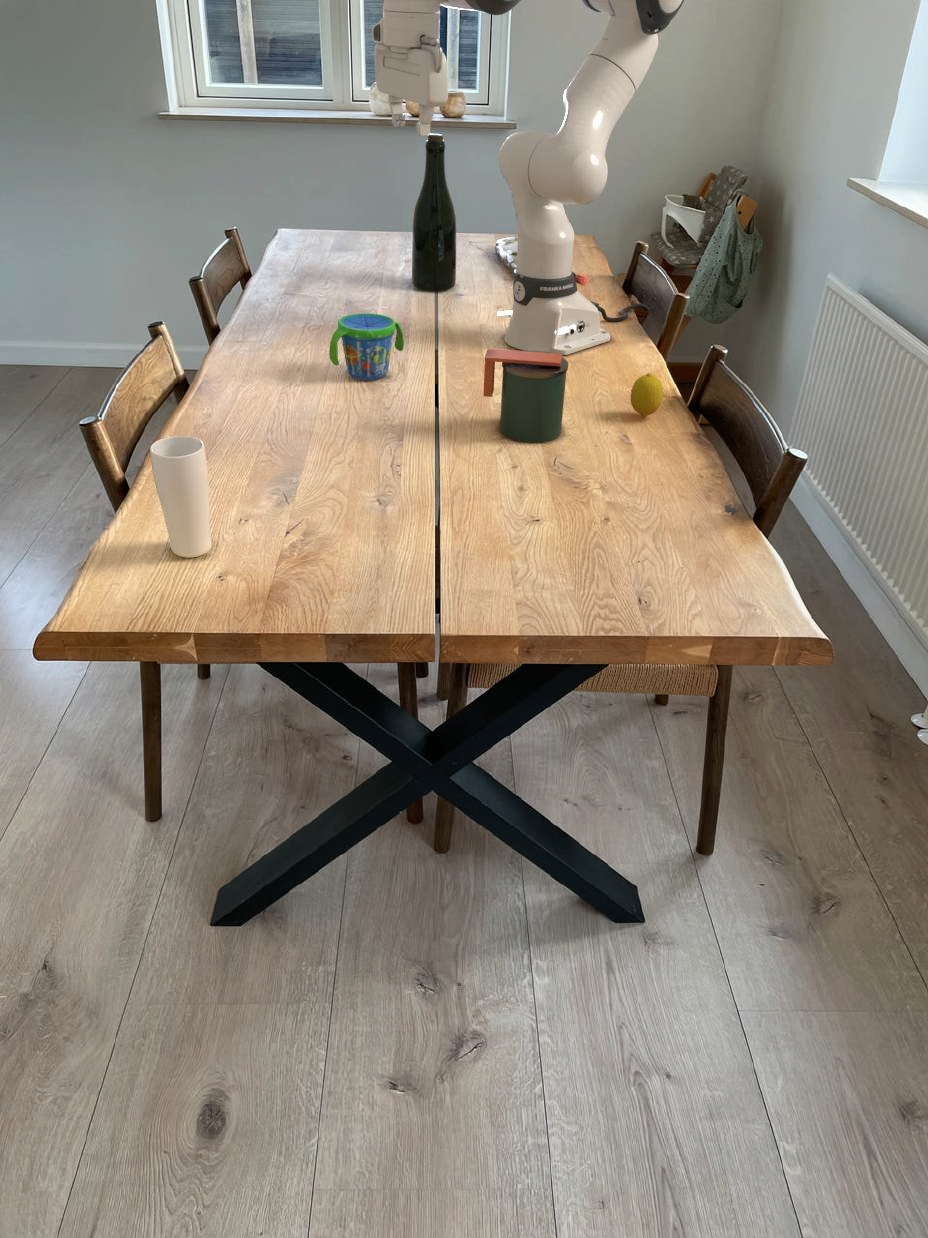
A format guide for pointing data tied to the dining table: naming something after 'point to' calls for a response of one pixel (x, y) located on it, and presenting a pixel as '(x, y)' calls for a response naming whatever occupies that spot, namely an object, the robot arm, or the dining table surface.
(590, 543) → the dining table surface
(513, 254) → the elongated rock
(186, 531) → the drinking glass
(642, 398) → the lemon
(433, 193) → the dark green wine bottle
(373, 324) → the snack cup
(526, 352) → the bracket
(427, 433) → the dining table surface
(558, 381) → the green canister
